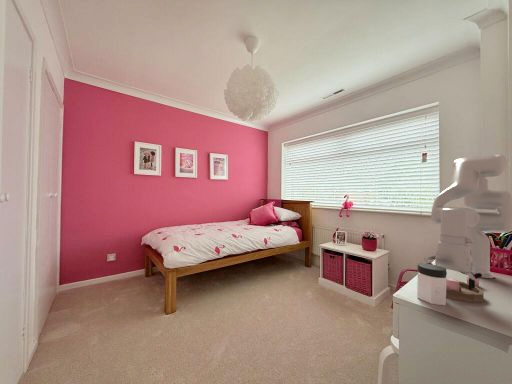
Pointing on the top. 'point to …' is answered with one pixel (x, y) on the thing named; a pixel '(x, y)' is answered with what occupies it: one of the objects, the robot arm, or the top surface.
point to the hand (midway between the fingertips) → (452, 284)
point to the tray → (466, 293)
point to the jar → (431, 283)
